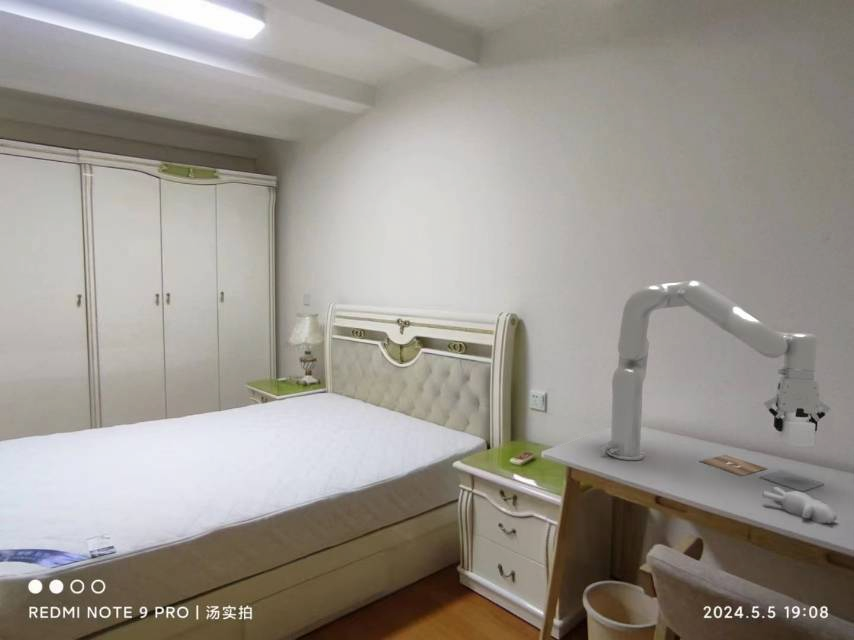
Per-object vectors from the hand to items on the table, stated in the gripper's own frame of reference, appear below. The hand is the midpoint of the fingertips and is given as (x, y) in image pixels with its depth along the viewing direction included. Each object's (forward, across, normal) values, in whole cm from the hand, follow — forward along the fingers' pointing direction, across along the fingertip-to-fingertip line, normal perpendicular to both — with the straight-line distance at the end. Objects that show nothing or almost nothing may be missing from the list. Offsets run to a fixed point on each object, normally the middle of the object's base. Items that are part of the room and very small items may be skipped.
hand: (794, 431), depth 152 cm
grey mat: (+15, 0, 0) cm, 15 cm away
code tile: (+15, -14, +9) cm, 22 cm away
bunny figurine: (+16, -6, -24) cm, 30 cm away
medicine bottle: (+4, 0, 0) cm, 4 cm away
